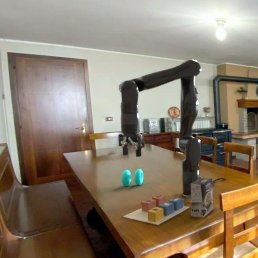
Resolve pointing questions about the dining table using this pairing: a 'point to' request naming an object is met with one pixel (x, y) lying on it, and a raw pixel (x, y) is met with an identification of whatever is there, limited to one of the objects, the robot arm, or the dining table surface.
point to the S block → (155, 214)
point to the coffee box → (201, 197)
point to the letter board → (143, 215)
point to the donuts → (127, 177)
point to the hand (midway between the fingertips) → (132, 155)
